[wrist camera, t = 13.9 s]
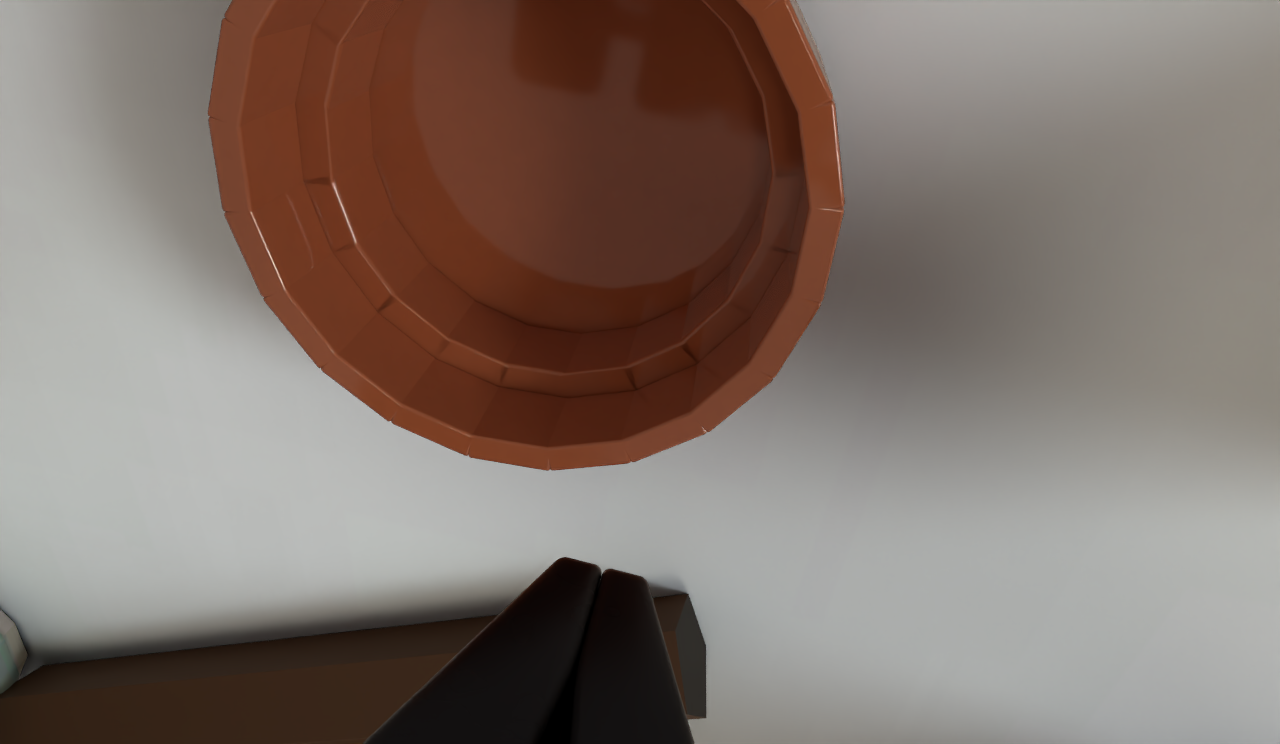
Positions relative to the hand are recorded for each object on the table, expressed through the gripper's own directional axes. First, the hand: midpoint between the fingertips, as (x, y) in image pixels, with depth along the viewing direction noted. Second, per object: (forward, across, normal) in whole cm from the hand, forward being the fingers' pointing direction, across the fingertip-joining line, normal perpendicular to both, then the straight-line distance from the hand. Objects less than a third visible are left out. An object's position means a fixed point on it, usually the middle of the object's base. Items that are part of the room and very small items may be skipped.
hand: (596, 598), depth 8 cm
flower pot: (+12, +3, -1) cm, 13 cm away
